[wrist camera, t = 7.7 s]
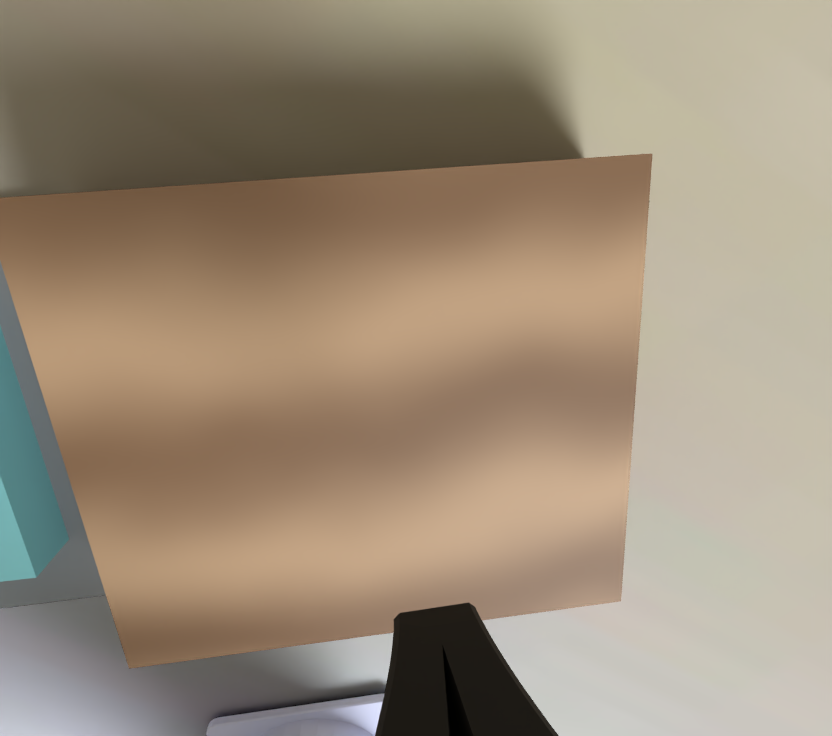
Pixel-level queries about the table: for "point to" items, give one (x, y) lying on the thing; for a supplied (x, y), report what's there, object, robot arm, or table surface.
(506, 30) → the table surface
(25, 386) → the grey flat slab
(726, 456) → the table surface
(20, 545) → the aqua rectangular block
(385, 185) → the brown wooden flat block
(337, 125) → the table surface
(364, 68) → the table surface
